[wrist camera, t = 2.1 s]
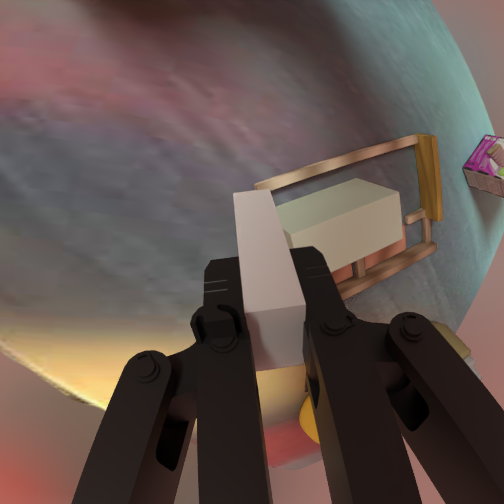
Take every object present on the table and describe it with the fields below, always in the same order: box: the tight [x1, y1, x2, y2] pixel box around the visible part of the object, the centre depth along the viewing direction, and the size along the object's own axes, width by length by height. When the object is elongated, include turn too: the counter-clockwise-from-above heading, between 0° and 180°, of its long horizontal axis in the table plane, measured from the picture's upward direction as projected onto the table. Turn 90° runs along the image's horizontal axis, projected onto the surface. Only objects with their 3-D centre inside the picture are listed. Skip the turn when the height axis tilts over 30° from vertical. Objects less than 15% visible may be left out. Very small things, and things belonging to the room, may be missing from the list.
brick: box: [276, 178, 403, 272], centre depth 37 cm, size 14×6×9 cm, turn 107°
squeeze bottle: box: [430, 321, 482, 381], centre depth 51 cm, size 8×8×18 cm
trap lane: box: [254, 133, 443, 300], centre depth 41 cm, size 28×20×4 cm
